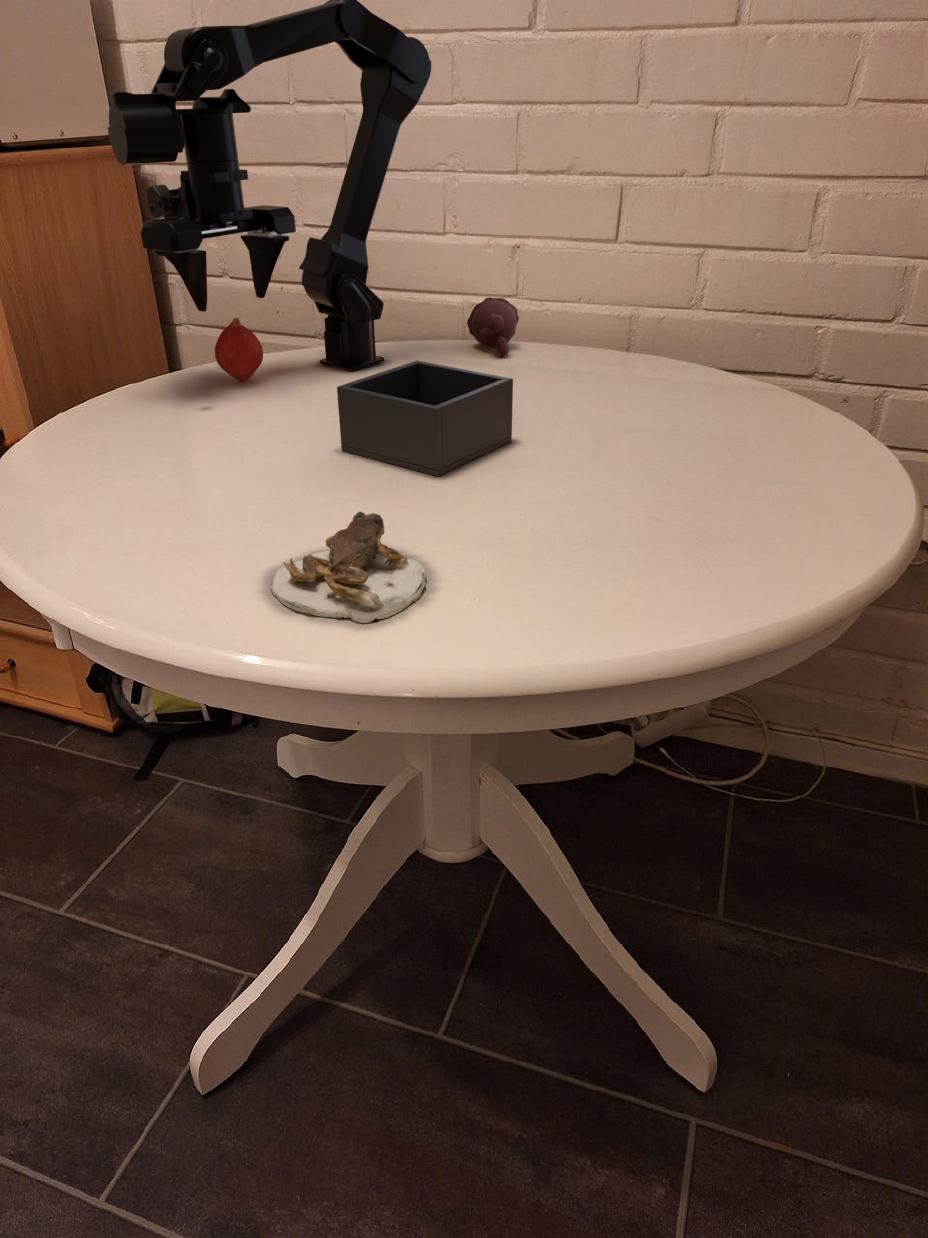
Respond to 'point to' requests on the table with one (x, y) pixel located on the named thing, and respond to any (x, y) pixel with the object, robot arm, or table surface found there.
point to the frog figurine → (351, 576)
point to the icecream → (494, 323)
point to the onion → (238, 351)
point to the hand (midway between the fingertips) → (232, 304)
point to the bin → (425, 416)
